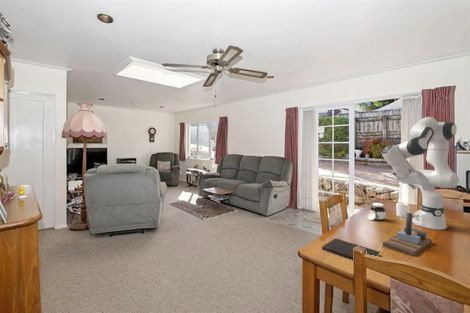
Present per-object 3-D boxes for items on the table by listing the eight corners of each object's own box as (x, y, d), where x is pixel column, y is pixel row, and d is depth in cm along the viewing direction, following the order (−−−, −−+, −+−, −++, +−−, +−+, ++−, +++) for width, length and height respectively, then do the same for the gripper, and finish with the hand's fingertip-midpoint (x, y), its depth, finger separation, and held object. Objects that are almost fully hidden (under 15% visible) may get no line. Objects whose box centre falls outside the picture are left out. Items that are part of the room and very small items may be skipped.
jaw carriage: (417, 244, 125) (418, 216, 125) (396, 238, 134) (397, 212, 133) (420, 242, 128) (421, 215, 127) (399, 236, 136) (400, 210, 135)
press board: (412, 256, 117) (413, 244, 116) (382, 246, 128) (383, 235, 128) (431, 242, 132) (431, 232, 132) (403, 235, 144) (403, 225, 144)
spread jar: (386, 219, 175) (386, 204, 174) (383, 223, 166) (384, 207, 166) (368, 216, 183) (368, 201, 182) (365, 219, 174) (365, 204, 173)
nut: (404, 236, 137) (405, 229, 137) (414, 237, 136) (414, 230, 136) (409, 239, 132) (410, 233, 132) (419, 240, 131) (419, 233, 131)
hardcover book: (335, 242, 135) (335, 238, 135) (379, 256, 118) (379, 251, 118) (321, 250, 124) (322, 246, 124) (368, 267, 107) (368, 262, 107)
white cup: (409, 218, 178) (410, 205, 177) (397, 216, 180) (397, 204, 180) (405, 215, 185) (406, 202, 185) (394, 214, 188) (394, 202, 187)
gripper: (421, 166, 125) (439, 186, 123) (398, 167, 145) (413, 185, 144) (411, 172, 125) (429, 193, 124) (390, 173, 146) (404, 191, 144)
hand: (420, 189), depth 134 cm, fingers open, 8 cm apart
